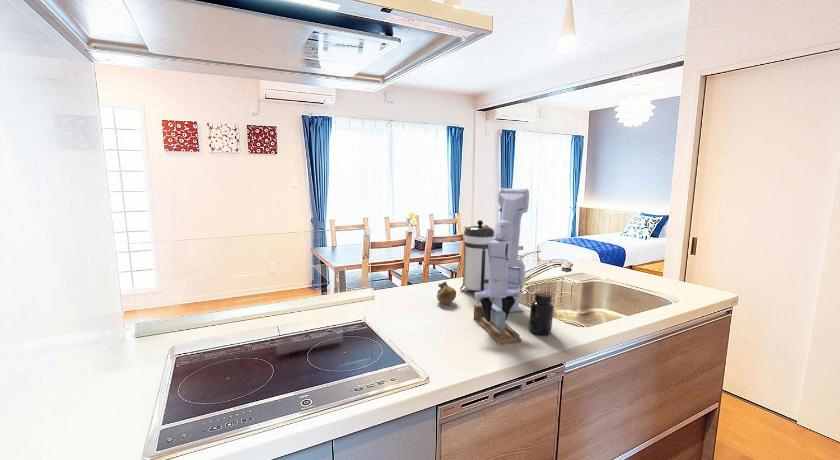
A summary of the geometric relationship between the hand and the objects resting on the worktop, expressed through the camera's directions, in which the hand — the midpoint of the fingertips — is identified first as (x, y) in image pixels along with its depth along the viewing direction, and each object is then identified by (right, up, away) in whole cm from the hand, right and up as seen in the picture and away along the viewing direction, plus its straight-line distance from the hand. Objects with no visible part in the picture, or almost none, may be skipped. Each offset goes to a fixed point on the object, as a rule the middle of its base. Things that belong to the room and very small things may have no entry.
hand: (496, 319), depth 122 cm
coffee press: (+1, +3, +40) cm, 40 cm away
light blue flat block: (0, -2, 0) cm, 2 cm away
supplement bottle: (+14, -4, -1) cm, 14 cm away
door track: (0, -3, 0) cm, 3 cm away
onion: (-14, 0, +25) cm, 28 cm away
